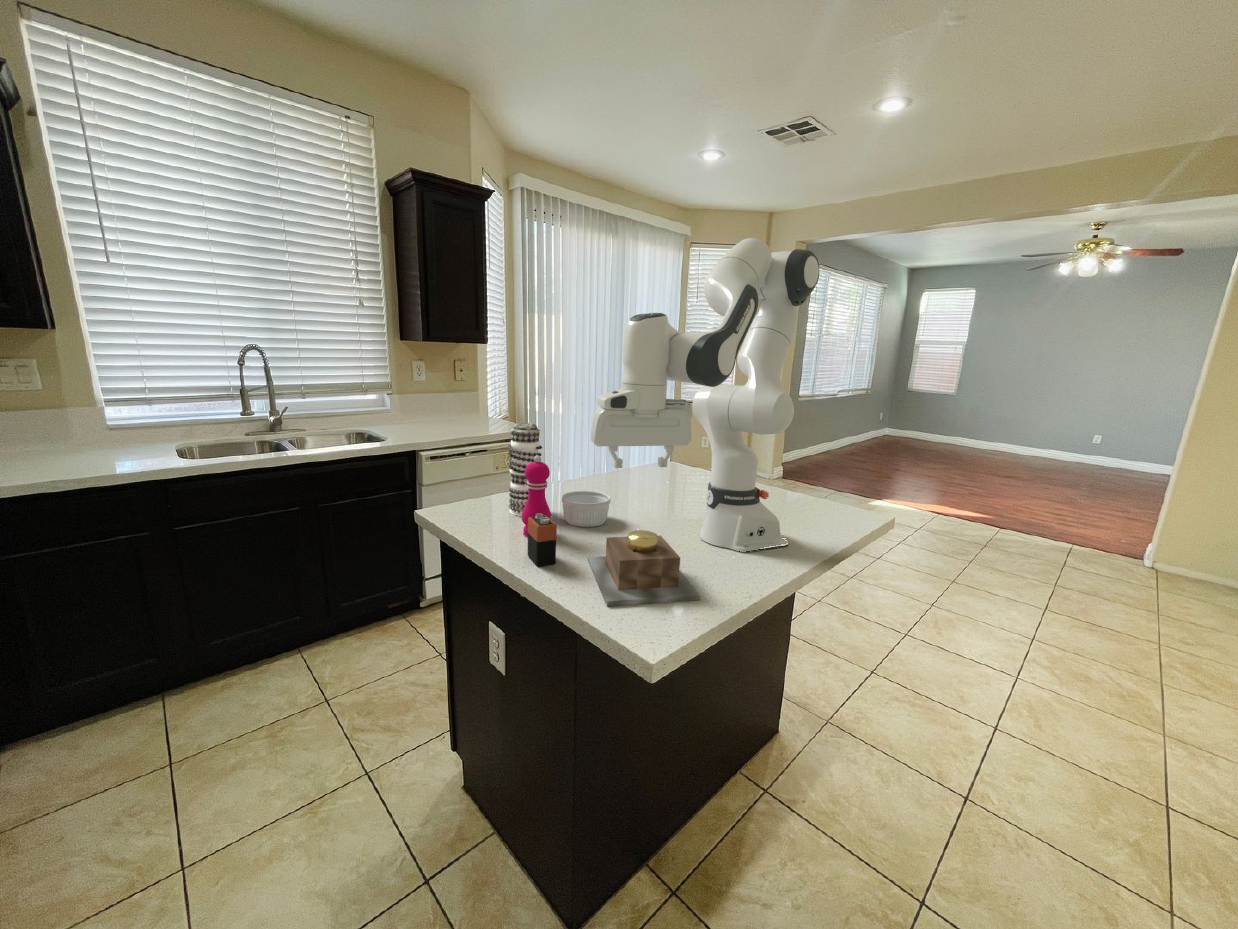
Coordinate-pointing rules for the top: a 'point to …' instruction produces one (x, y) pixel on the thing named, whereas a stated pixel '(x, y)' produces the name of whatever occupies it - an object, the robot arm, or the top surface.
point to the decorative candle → (521, 463)
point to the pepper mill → (536, 491)
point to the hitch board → (639, 593)
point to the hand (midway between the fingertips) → (640, 467)
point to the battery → (542, 540)
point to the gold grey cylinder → (642, 541)
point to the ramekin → (585, 508)
